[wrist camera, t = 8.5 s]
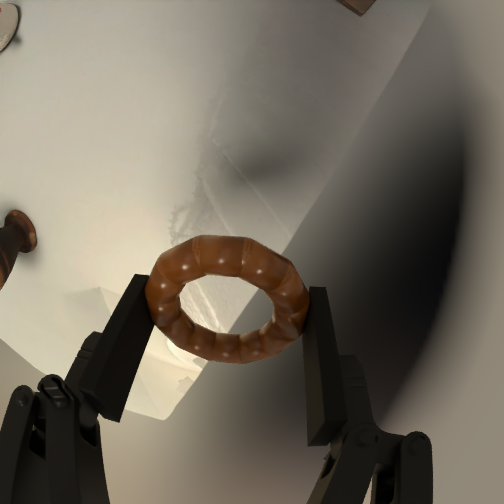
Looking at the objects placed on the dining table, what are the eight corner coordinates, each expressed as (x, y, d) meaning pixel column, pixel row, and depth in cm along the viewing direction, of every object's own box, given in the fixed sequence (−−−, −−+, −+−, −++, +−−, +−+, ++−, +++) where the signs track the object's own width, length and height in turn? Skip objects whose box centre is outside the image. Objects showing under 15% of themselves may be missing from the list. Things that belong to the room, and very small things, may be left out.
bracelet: (339, 281, 13) (345, 305, 11) (252, 360, 17) (250, 382, 15) (190, 196, 11) (179, 214, 10) (136, 307, 15) (126, 328, 13)
